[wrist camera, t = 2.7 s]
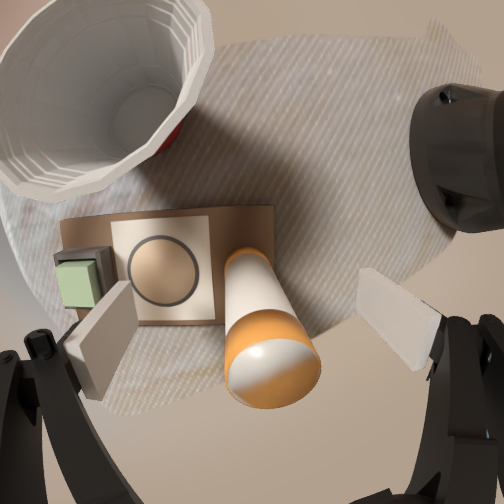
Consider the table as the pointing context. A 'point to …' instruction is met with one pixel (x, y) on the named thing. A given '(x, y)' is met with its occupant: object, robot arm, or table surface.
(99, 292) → the button
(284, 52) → the table surface
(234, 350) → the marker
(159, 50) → the plastic cup
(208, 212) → the board
